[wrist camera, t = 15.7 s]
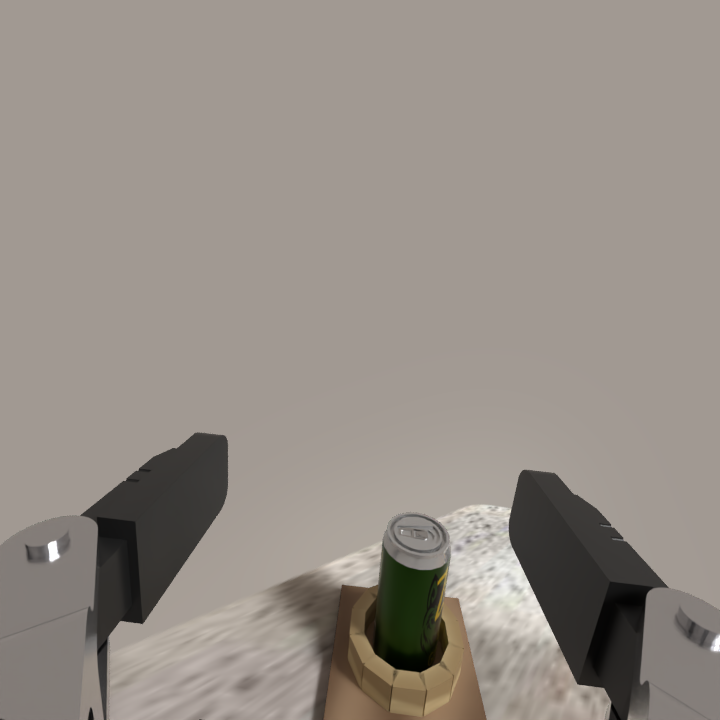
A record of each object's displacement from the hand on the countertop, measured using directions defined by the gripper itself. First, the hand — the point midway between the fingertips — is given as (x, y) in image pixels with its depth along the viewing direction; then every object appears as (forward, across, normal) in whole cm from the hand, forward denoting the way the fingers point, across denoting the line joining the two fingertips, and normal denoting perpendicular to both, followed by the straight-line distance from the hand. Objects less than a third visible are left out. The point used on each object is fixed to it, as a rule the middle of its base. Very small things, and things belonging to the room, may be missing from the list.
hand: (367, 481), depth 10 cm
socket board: (+16, -5, +27) cm, 32 cm away
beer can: (+15, -5, +26) cm, 31 cm away
